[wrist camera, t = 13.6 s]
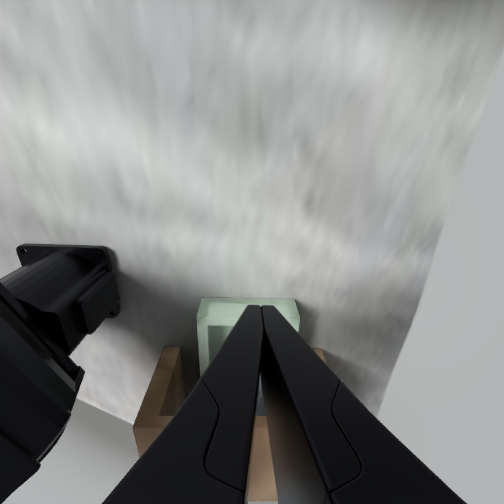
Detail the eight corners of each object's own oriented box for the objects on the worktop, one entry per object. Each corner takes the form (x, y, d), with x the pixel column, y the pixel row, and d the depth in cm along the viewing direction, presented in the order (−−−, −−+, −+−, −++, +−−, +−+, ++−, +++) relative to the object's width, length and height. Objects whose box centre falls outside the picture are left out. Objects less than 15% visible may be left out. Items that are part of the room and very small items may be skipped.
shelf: (172, 415, 28) (150, 502, 21) (164, 346, 24) (132, 427, 17) (307, 415, 28) (326, 500, 22) (321, 348, 24) (350, 427, 18)
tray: (206, 393, 26) (203, 418, 24) (201, 297, 22) (196, 316, 19) (282, 393, 27) (286, 417, 24) (294, 298, 22) (300, 318, 20)
